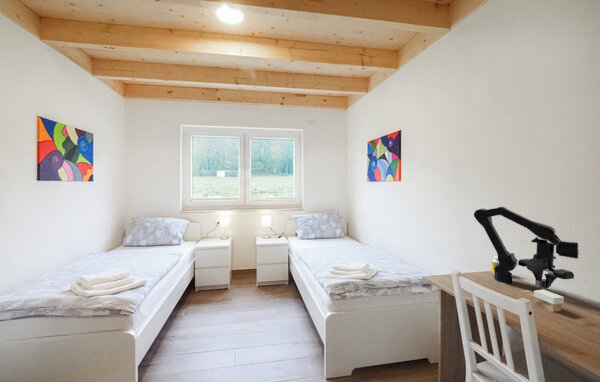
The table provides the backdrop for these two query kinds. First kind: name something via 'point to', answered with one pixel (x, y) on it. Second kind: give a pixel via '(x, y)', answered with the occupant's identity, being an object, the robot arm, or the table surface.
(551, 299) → the cover
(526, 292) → the lock board
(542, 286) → the grey stone
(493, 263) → the supplement bottle
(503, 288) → the table surface
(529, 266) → the robot arm
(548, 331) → the table surface
